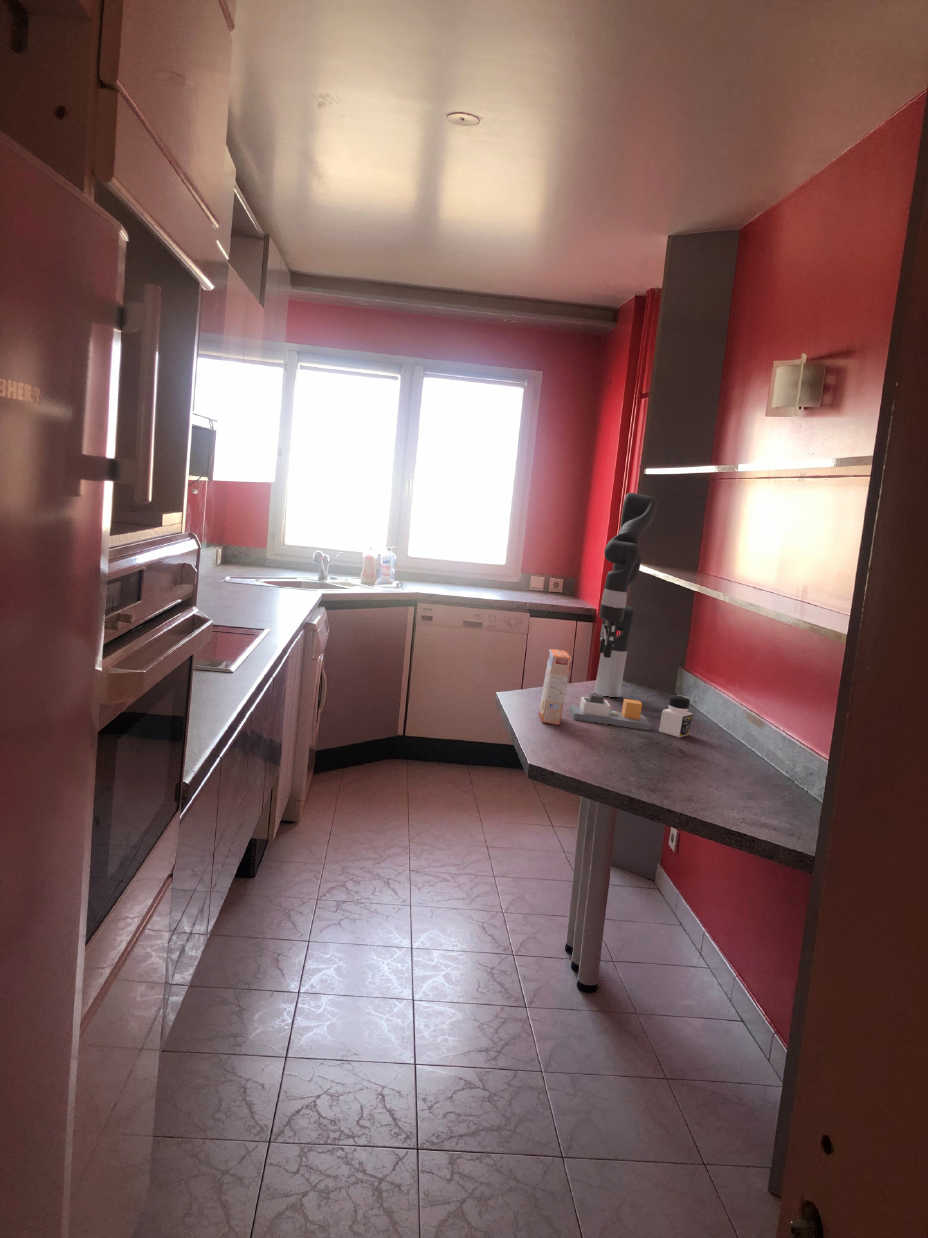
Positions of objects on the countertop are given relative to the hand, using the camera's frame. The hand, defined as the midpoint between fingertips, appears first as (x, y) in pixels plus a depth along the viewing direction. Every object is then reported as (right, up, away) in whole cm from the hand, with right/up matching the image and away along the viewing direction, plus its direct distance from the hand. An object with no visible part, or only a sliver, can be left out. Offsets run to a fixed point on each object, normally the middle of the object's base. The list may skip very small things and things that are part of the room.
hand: (604, 655), depth 284 cm
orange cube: (+9, -20, +4) cm, 22 cm away
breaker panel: (+2, -21, +3) cm, 21 cm away
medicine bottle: (+21, -25, -2) cm, 33 cm away
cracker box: (-18, -20, -7) cm, 28 cm away
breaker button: (-3, -15, +2) cm, 15 cm away
